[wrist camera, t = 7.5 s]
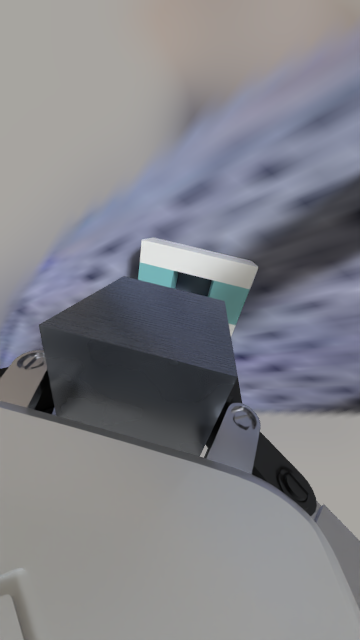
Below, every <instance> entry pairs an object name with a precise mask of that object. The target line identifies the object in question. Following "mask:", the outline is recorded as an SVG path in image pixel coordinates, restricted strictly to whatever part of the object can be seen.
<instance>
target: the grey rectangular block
mask: <svg viewBox="0 0 360 640" xmlns="http://www.w3.org/2000/svg"><path fill="white" fill-rule="evenodd" d="M39 328H40V333H41V338H42V344H43V349H44V354H45V359H46V365H47V370H48V375H49V380H50V385H51V391H52V396H53V401H54V406H55V412H56V416H59V417H62V418H66V419H70V420H73V421H77V422H80V423H84V424H88V425H91V426H95V427H98V428H102V429H105V430H109V431H112V432H116V433H119V434H123V435H126V436H130V437H134V438H137V439H141V440H144V441H147V442H151V443H154V444H158V445H161V446H165V447H168V448H172V449H175V450H179V451H182V452H186V453H189V454H192V455H196V456H199V457H200V454H201V452H202V450H203V448H204V446H205V444H206V442H207V440H208V438H209V436H210V434H211V431H212V429H213V427H214V425H215V423H216V421H217V419H218V417H219V415H220V413H221V411H222V408H223V406H224V404H225V402H226V400H227V398H228V396H229V394H230V392H231V390H232V388H233V386H234V383H235V381H236V379H237V377H238V376H237V370H236V364H235V359H234V353H233V347H232V341H231V335H230V329H229V323H228V317H227V311H226V305H225V301H223V300H219V299H215V298H211V297H206V296H202V295H198V294H194V293H190V292H186V291H182V290H178V289H174V288H170V287H166V286H162V285H158V284H153V283H149V282H145V281H141V280H137V279H133V278H129V277H125V276H123V277H121V278H120V279H118V280H116V281H114V282H113V283H111V284H109V285H108V286H106V287H104V288H102V289H101V290H99V291H97V292H95V293H94V294H92V295H90V296H88V297H87V298H85V299H83V300H81V301H80V302H78V303H76V304H74V305H73V306H71V307H69V308H67V309H66V310H64V311H62V312H60V313H59V314H57V315H55V316H53V317H52V318H50V319H48V320H46V321H45V322H43V323H41V324H39Z"/></svg>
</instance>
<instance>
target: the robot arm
mask: <svg viewBox="0 0 360 640" xmlns="http://www.w3.org/2000/svg"><path fill="white" fill-rule="evenodd" d="M206 446H207V447H208V449H207V452H206V454H205V456H204V458H202V457H199V456H196V455H192V454H189V453H186V452H182V451H179V450H175V449H172V448H168V447H165V446H161V445H158V444H154V443H151V442H147V441H144V440H141V439H137V438H134V437H130V436H126V435H123V434H119V433H116V432H112V431H109V430H105V429H102V428H98V427H95V426H91V425H88V424H84V423H80V422H77V421H73V420H70V419H66V418H62V417H59V416H56V412H55V406H54V401H53V396H52V391H51V385H50V380H49V375H48V370H47V365H46V359H45V354H44V351H42V350H37V351H30V352H27V353H24V354H22V355H20V356H18V357H17V358H16V359H15V360H14V361H13V362H12V364H11V365H10V366H9V367H7V368H2V369H0V640H360V541H359V540H358V539H357V538H356V537H355V536H354V535H353V534H352V533H351V532H350V531H349V529H348V528H347V527H346V526H345V525H344V524H343V523H342V522H341V521H340V520H339V519H338V518H337V517H336V516H335V515H334V514H333V513H332V512H331V511H330V510H329V509H328V508H327V507H326V506H325V505H322V506H321V505H320V504H319V503H318V502H317V501H316V497H315V495H314V492H313V490H312V488H311V487H310V485H309V483H308V481H307V480H306V479H305V478H304V477H303V476H302V474H300V472H299V471H298V470H297V469H296V468H295V467H294V466H293V465H292V464H291V463H290V462H289V461H288V460H287V459H286V458H285V457H284V456H283V455H282V454H281V453H280V452H279V451H278V450H277V449H276V448H275V447H274V446H273V445H272V444H271V443H270V441H269V440H268V439H267V438H265V436H264V435H263V434H262V433H261V432H260V420H259V418H258V416H257V414H256V413H255V412H254V411H253V410H252V409H251V408H250V407H248V406H246V405H244V404H242V400H241V394H240V388H239V382H238V377H237V379H236V381H235V383H234V386H233V388H232V390H231V392H230V394H229V396H228V398H227V400H226V402H225V404H224V406H223V408H222V411H221V413H220V415H219V417H218V419H217V421H216V423H215V425H214V427H213V429H212V431H211V434H210V436H209V438H208V440H207V442H206Z"/></svg>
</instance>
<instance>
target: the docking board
mask: <svg viewBox="0 0 360 640" xmlns="http://www.w3.org/2000/svg"><path fill="white" fill-rule="evenodd" d="M258 268H259V267H258V266H257V265H256V264H255V263H254V262H252V261H250V260H246V259H242V258H238V257H234V256H229V255H225V254H221V253H217V252H212V251H208V250H204V249H200V248H195V247H191V246H187V245H183V244H179V243H174V242H170V241H166V240H162V239H157V238H148V239H142V244H141V254H140V265H139V276H138V280H141V281H145V282H149V283H153V284H158V285H162V286H166V287H170V288H174V289H175V288H176V283H177V277H178V272H181V273H185V274H189V275H194V276H198V277H202V278H206V279H210V280H212V282H211V286H210V289H209V293H208V296H207V297H211V298H215V299H219V300H223V301H225V305H226V311H227V317H228V323H229V329H230V335H231V336H232V333H233V331H234V328H235V326H236V323H237V320H238V318H239V315H240V313H241V310H242V308H243V305H244V303H245V300H246V298H247V295H248V293H249V290H250V288H251V285H252V283H253V280H254V278H255V275H256V273H257V270H258Z"/></svg>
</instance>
